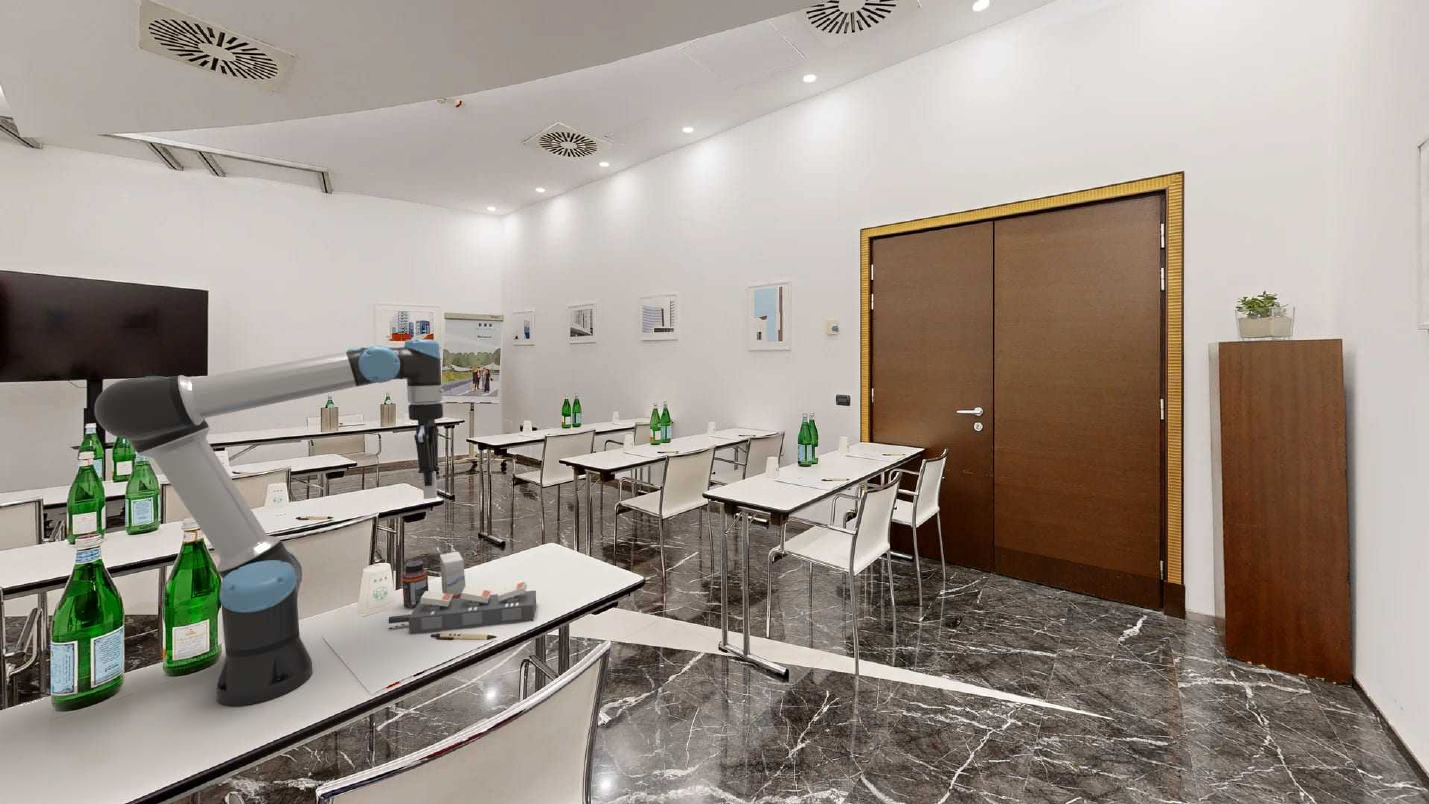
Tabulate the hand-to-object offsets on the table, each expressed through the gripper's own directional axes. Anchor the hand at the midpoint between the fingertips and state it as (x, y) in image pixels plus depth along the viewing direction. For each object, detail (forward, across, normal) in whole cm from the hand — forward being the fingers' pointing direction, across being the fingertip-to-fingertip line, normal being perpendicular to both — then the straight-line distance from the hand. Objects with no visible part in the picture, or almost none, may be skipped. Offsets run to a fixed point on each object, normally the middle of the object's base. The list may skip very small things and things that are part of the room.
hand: (430, 497), depth 141 cm
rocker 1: (+25, -4, -1) cm, 25 cm away
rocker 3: (+25, -4, -19) cm, 32 cm away
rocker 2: (+25, -4, -10) cm, 27 cm away
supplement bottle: (+31, +9, +7) cm, 33 cm away
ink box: (+31, +10, -2) cm, 32 cm away
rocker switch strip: (+30, -4, -7) cm, 32 cm away
